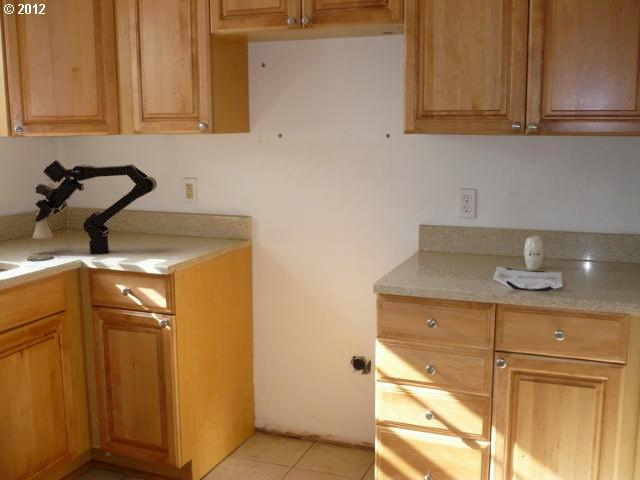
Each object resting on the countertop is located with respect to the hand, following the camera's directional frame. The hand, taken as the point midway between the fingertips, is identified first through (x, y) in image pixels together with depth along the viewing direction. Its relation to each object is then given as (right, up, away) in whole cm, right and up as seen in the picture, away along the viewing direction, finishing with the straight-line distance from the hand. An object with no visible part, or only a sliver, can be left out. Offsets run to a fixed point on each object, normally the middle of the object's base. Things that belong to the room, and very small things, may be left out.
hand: (37, 220), depth 271 cm
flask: (+1, -7, +1) cm, 7 cm away
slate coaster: (+4, -14, -8) cm, 17 cm away
